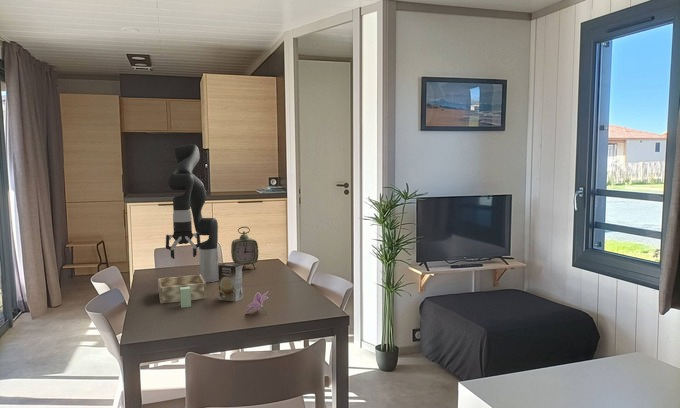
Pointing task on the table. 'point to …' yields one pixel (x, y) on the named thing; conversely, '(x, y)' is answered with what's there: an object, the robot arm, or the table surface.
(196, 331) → the table surface
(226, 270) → the coffee box
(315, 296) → the table surface
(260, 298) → the lily
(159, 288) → the box
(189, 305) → the peg
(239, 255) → the tabletop clock
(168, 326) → the table surface
